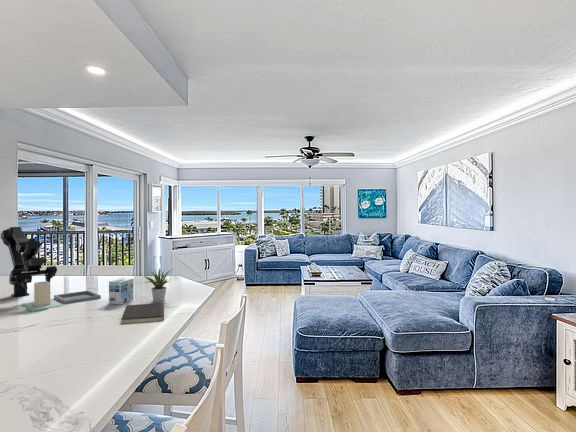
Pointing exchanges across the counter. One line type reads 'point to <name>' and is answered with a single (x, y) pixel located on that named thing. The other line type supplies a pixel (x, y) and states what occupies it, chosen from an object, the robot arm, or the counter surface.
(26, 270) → the robot arm
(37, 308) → the mat
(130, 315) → the hardcover book
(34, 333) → the counter surface
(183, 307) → the counter surface
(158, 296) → the house plant
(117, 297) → the light bulb box
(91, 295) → the parts tray
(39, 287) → the carton
